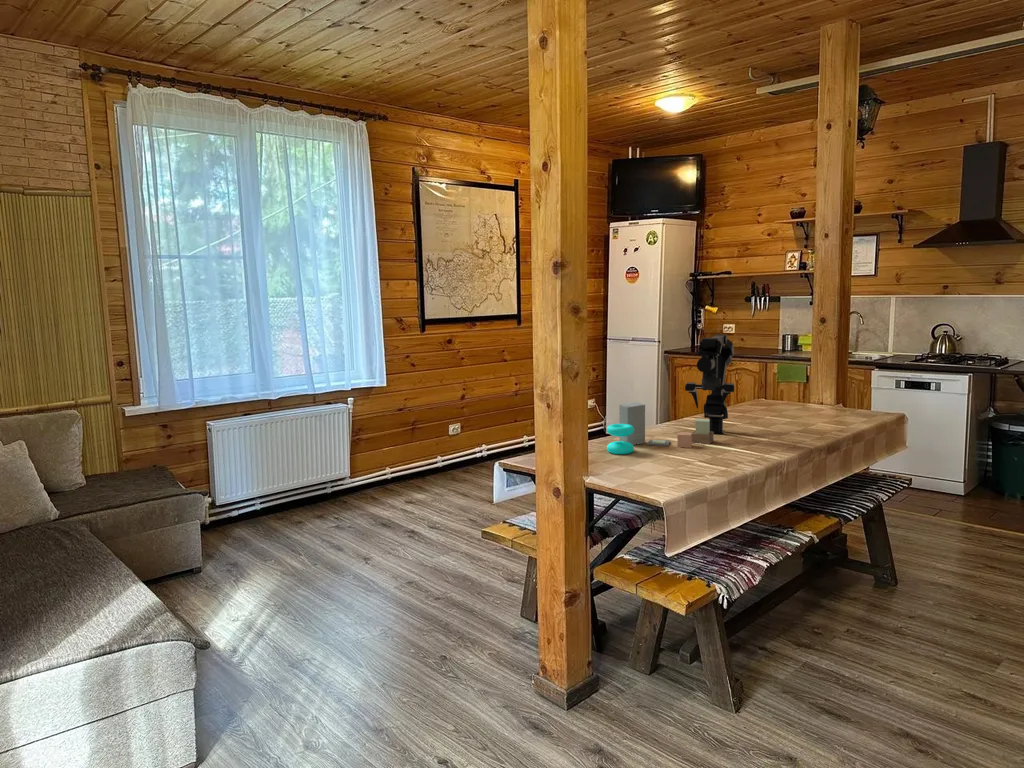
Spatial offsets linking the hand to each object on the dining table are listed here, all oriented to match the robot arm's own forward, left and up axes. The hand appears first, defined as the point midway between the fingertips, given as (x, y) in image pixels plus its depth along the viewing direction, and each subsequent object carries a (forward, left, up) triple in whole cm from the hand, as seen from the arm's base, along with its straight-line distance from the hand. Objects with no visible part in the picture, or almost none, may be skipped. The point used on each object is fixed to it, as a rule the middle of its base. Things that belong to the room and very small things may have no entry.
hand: (709, 408), depth 282 cm
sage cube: (+8, -2, -8) cm, 12 cm away
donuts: (+32, -30, -12) cm, 46 cm away
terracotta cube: (+17, -8, -12) cm, 22 cm away
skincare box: (+17, -28, -12) cm, 35 cm away
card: (+15, -18, -12) cm, 26 cm away
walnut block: (+8, -2, -12) cm, 15 cm away
